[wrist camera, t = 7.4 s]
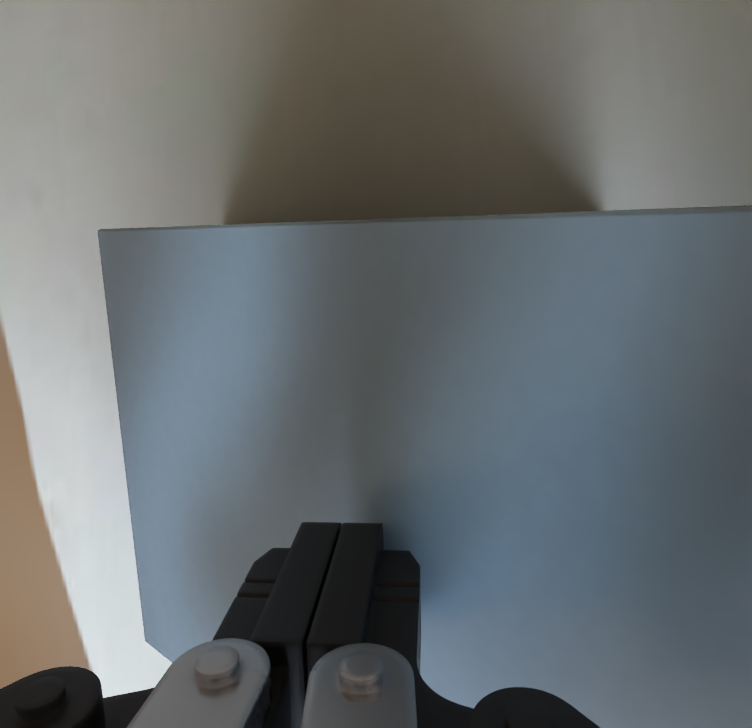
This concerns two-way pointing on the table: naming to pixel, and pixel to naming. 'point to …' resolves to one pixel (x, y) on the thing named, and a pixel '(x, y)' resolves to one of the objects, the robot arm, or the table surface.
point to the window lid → (460, 437)
